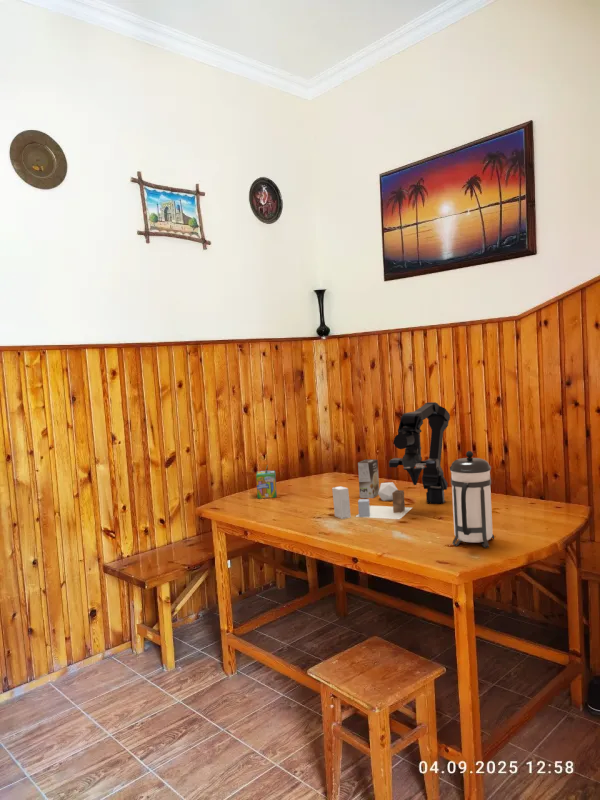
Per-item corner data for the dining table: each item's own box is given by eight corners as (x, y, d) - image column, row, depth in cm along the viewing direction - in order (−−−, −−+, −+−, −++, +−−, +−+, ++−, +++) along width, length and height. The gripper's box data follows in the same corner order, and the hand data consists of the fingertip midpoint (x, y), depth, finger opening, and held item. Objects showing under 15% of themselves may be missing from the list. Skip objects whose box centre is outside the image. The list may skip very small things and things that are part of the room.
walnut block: (404, 510, 240) (403, 490, 240) (401, 513, 236) (400, 493, 235) (397, 509, 242) (396, 490, 241) (393, 512, 237) (392, 492, 237)
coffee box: (372, 498, 266) (370, 462, 265) (359, 498, 269) (357, 462, 268) (379, 494, 274) (377, 459, 273) (366, 493, 277) (364, 459, 276)
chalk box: (257, 494, 289) (255, 464, 288) (276, 493, 289) (274, 463, 288) (257, 499, 280) (254, 467, 279) (276, 497, 280) (274, 466, 279)
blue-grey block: (370, 514, 238) (369, 499, 237) (369, 516, 234) (368, 501, 233) (359, 514, 238) (359, 499, 238) (358, 516, 234) (358, 501, 234)
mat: (412, 509, 243) (412, 507, 243) (399, 520, 227) (399, 519, 227) (370, 506, 251) (370, 505, 251) (355, 518, 235) (355, 516, 235)
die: (393, 505, 254) (403, 485, 257) (375, 495, 256) (384, 475, 258) (390, 507, 262) (400, 488, 265) (373, 498, 263) (382, 479, 266)
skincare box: (351, 518, 235) (349, 488, 234) (341, 520, 233) (339, 489, 232) (343, 515, 240) (341, 485, 239) (333, 517, 238) (331, 487, 238)
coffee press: (439, 539, 201) (434, 450, 200) (482, 533, 205) (478, 446, 203) (464, 554, 185) (460, 457, 183) (511, 547, 188) (507, 452, 186)
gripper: (383, 448, 231) (385, 488, 232) (431, 448, 223) (434, 490, 224) (392, 444, 241) (394, 482, 242) (438, 444, 233) (440, 484, 233)
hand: (415, 484), depth 235 cm, fingers closed
